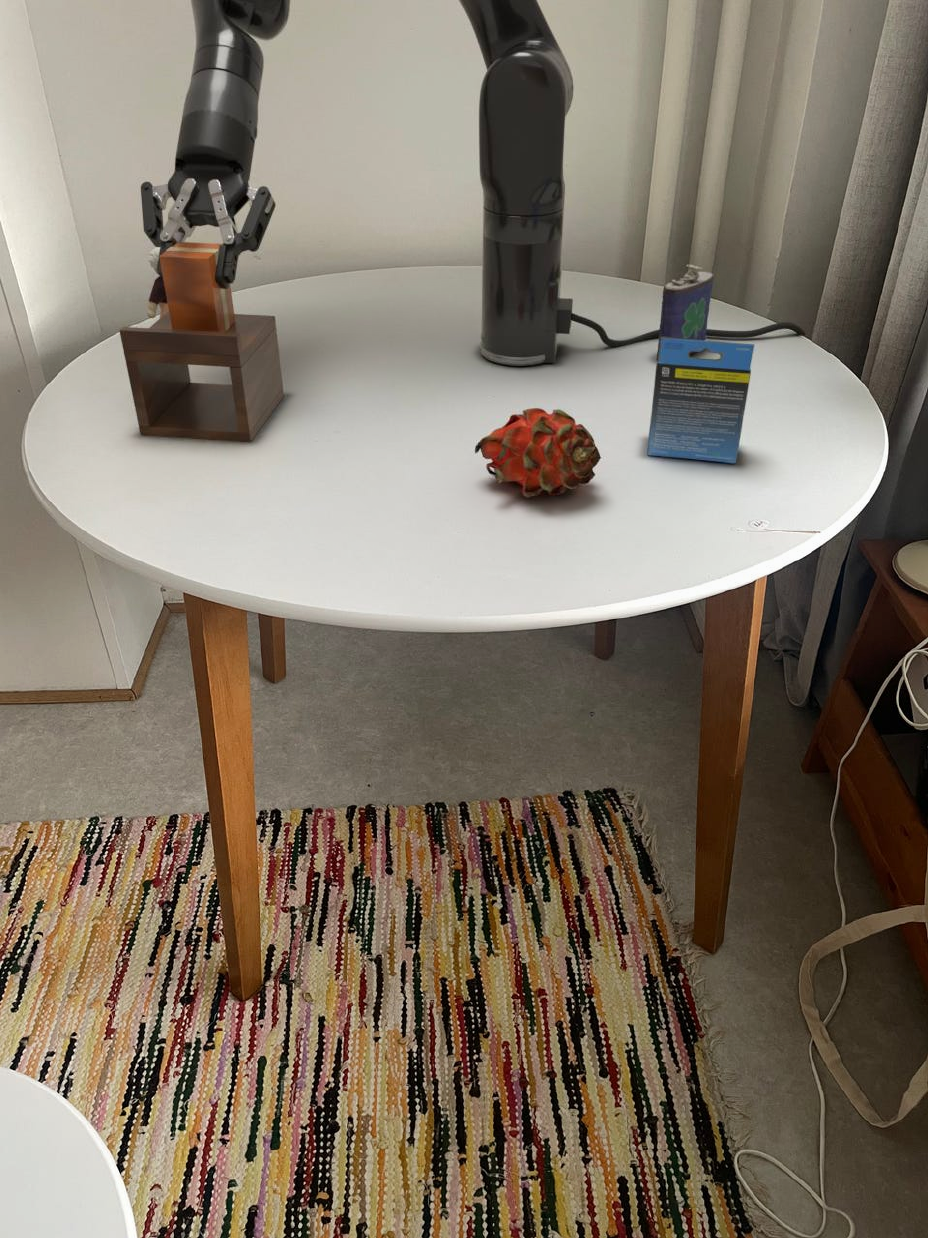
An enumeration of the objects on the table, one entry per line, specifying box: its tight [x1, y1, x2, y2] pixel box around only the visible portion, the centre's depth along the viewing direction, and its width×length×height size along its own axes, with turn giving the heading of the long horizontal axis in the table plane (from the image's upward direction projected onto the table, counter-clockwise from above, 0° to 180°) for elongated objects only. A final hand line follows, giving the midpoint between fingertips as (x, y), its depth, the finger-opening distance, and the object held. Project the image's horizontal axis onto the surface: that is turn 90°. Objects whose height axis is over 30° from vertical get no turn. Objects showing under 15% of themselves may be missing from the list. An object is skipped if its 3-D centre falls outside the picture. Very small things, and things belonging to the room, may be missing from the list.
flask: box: [655, 264, 715, 363], centre depth 121 cm, size 9×3×11 cm, turn 138°
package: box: [159, 241, 235, 332], centre depth 102 cm, size 5×5×8 cm
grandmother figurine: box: [146, 247, 169, 319], centre depth 121 cm, size 8×4×13 cm, turn 168°
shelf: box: [118, 311, 285, 443], centre depth 105 cm, size 12×12×11 cm
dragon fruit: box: [473, 407, 602, 499], centre depth 93 cm, size 8×8×12 cm
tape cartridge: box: [646, 337, 755, 464], centre depth 98 cm, size 9×4×12 cm, turn 77°
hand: (194, 282), depth 101 cm, fingers closed on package, 5 cm apart
